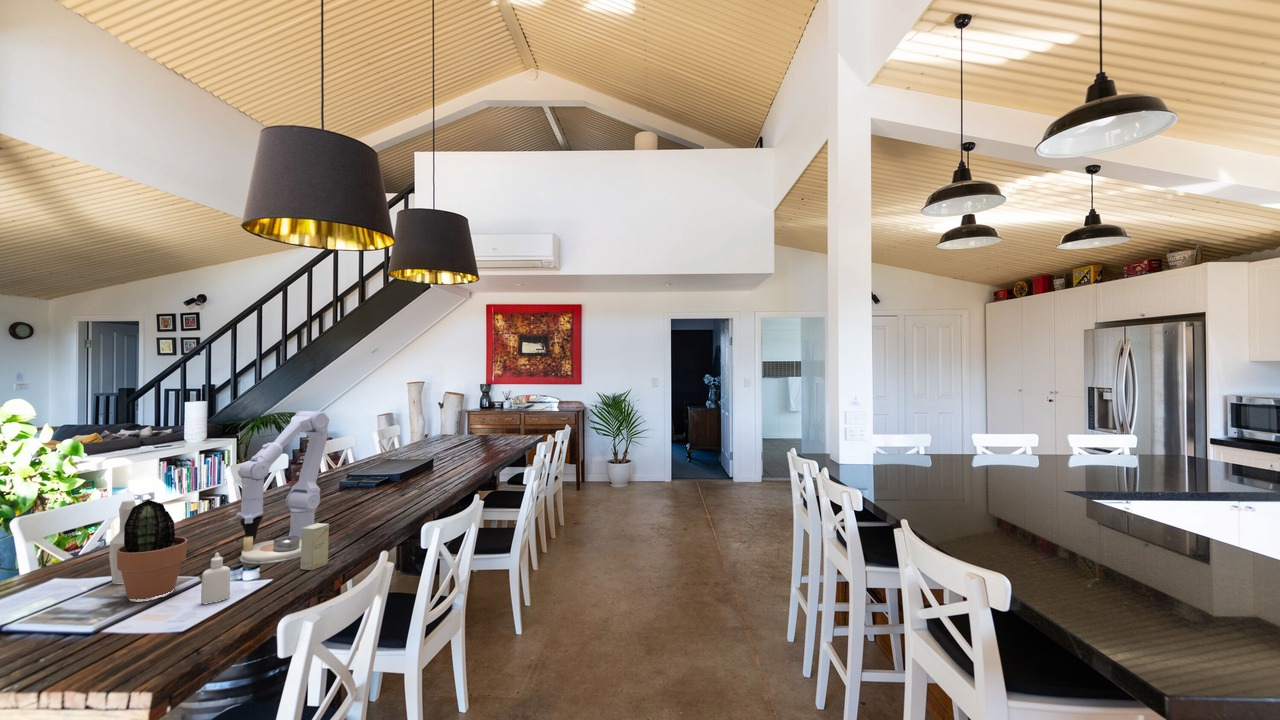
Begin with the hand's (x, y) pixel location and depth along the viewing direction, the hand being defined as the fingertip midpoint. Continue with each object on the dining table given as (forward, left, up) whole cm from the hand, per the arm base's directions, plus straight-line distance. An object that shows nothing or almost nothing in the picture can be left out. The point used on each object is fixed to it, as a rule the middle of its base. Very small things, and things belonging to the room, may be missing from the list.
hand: (250, 540), depth 176 cm
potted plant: (+30, -17, -4) cm, 35 cm away
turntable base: (+6, +8, -3) cm, 10 cm away
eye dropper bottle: (+41, -2, -4) cm, 42 cm away
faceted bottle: (+15, -26, -4) cm, 31 cm away
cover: (+10, +10, -1) cm, 14 cm away
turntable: (+6, +8, -3) cm, 10 cm away
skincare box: (+24, +19, -4) cm, 31 cm away
